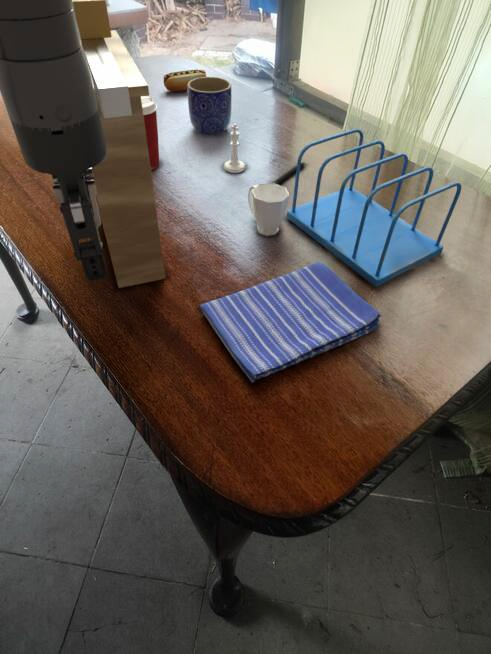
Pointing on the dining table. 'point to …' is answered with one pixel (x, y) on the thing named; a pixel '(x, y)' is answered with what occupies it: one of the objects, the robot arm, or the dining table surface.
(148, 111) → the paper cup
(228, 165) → the chess piece
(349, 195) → the file sorter
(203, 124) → the planter
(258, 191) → the cup
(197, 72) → the hot dog
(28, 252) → the dining table surface
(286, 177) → the pen
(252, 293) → the dish towel
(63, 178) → the robot arm
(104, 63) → the mallet
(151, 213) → the stand
